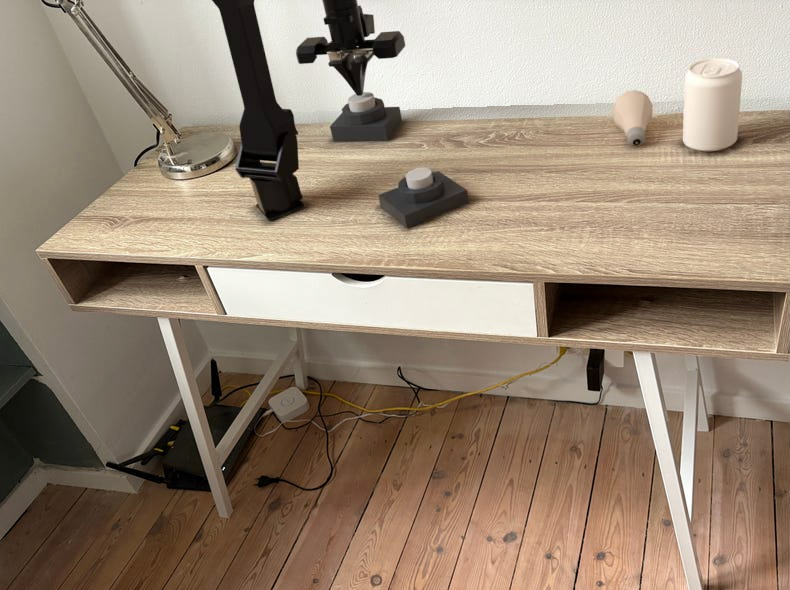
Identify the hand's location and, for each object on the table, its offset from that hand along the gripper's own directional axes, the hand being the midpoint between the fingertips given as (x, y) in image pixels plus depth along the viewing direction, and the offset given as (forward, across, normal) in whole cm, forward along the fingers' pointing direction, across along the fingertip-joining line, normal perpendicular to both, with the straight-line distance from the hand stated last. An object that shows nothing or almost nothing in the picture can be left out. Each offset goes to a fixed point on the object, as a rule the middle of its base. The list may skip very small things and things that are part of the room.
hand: (360, 94), depth 149 cm
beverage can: (+7, -61, +9) cm, 62 cm away
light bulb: (+7, -49, +5) cm, 50 cm away
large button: (+2, 0, 0) cm, 2 cm away
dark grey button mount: (+7, 0, 0) cm, 7 cm away
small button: (+4, -19, +28) cm, 34 cm away
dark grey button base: (+7, -19, +28) cm, 34 cm away
